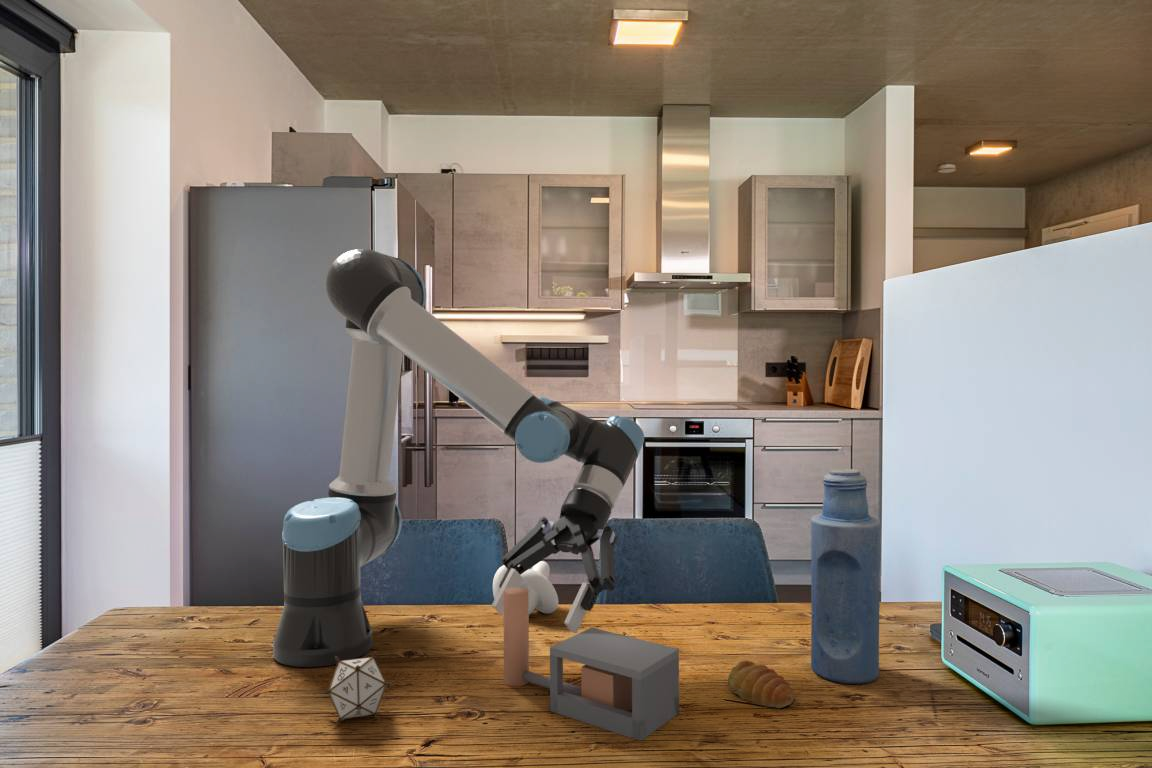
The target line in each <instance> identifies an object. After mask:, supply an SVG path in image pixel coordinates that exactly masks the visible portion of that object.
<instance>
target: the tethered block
mask: <svg viewBox="0 0 1152 768" xmlns="http://www.w3.org/2000/svg"><path fill="white" fill-rule="evenodd" d="M503 611H504V615H503V683H504V685H507V686H510V687H521V686H522V687H523V686H525V685H527V684H529V683H531V684H534V685H536V686H540V687H543V688H546V689H549V690H550V676H546V675H543V674H540V673H536V672H533V671H529V670H530V650H529V649H530V648H529V647H530V643H529V641H530V634H529V633H530V631H529V630H530V622H529V621H530V620H529V619H530V618H529V617H530V615H529V596H528V590H527V589H523V588H511V589H507V590H504V592H503ZM580 670H581V685H580V686H579V685H576V684H572V683H570V682H566V681H563V692H567V693H570V694H573V695H576V696H579V697H583V698H586V699H589V700H592V701H595V702H599V703H602V704H605V705H608V706H611V707H615V708H618V709H621V710H624V711H627V712H629V711H630V710H631V711H632V678H631V677H628V676H624V675H621V674H617V673H613V672H610V671H606V670H603V669H599V668H596V667H592V666H589V665H585V664H583V666H581V669H580ZM631 711H630V712H631Z"/></svg>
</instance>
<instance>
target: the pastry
mask: <svg viewBox="0 0 1152 768" xmlns="http://www.w3.org/2000/svg"><path fill="white" fill-rule="evenodd" d="M726 681H727V682H726V683H727V685H728V686H729V688H730V690H731V691H732V694H735V695H738V696H739V698H741V699H743V700H745V701H750V702H751V703H753V704H758V705H760V706H762V707H766V708H767V707H768V708H777V709H781V708H785V707H786V706H790V705H791V704H793V702H794V699H795V696H796V694H795V690H793V688H792V687H791V684H790V683H789V682H788V681H786V680H785V678H784V676H782V675H779V674H778V673H777V672H776V670H775V669H773V668H769V667H768V666H767V665H765V664H760V663H759V664H756V663H755V662H754V661H750V660H747V659H746V660H742V661H739V662H738V663H737V664H736V665H735V666H733V667H732V669H731V670H730V673H729V674H728V677H727V680H726Z"/></svg>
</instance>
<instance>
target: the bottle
mask: <svg viewBox="0 0 1152 768" xmlns="http://www.w3.org/2000/svg"><path fill="white" fill-rule="evenodd" d="M822 481H823V491H824V492H823V501H822V510H821V511H822V512H820V513H818V514H815V515H813V516H811V519H810V521H811V523H810V528H811V529H810V531H811V533H810V534H811V535H810V562H811V563H810V566H811V567H810V568H811V569H810V570H811V571H810V578H811V582H810V583H811V586H810V587H811V590H810V591H811V592H810V593H811V597H810V598H811V600H810V601H811V603H810V604H811V609H810V610H811V612H810V614H811V615H810V616H811V620H810V621H811V622H810V623H811V633H810V634H811V635H810V640H811V641H810V642H811V644H810V647H811V648H810V658H811V659H810V667H811V668H810V669H812V671H813V673H815V674H816V675H817V676H819V677H821V678H823V679H825V680H828V681H830V682H835V683H839V684H845V685H851V684H853V685H863V684H868V683H871V682H874V681H875V680H877V678H879V675H880V608H881V604H880V603H881V602H880V596H881V595H880V594H881V592H880V591H881V590H880V586H881V585H880V584H881V581H880V580H881V578H880V576H881V521H880V520H879V519H878V518H876V517H874V516H871V515H870V514H869V504H868V503H869V502H868V500H867V499H868V498H867V487H868V481H867V478H866V476H864V475H862V474H861V472H860V470H859V469H854V468H852V469H851V468H836V469H830V470H829V473H828V474H825V475H824V477H823V480H822Z"/></svg>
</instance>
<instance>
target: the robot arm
mask: <svg viewBox="0 0 1152 768" xmlns="http://www.w3.org/2000/svg"><path fill="white" fill-rule="evenodd" d="M325 285H326V287H325V288H326V293H327V297H328V298H329V300H330V303H331V305H332V306H333V308H334V309H336V311H338V313H340V314H341V315H342V316H343V317H345V318H346V319H345V331H346V332H347V334H348V335H349V336H350V337H351V339H352V350H351V358H350V368H349V379H348V387H347V388H348V389H347V397H346V398H347V399H346V406H345V407H346V408H345V415H344V427H343V436H342V445H341V455H340V463H339V464H340V466H339V475H338V477H336V478H335V479H333V481H332V482H331V483H329V485H328V493H327V497H322V498H316V499H313V500H307V501H303V502H300V503H298V504H295V505H294V506H293V507H291V508H290V509H288V510H287V512H286V513H285V514H284V518H283V525H282V532H281V533H282V534H281V539H282V556H283V557H282V558H283V562H282V563H283V565H282V566H283V592H284V594H283V598H284V599H283V600H284V601H283V602H284V603H283V604H284V605H283V609H282V612H281V616H280V619H279V621H278V625H277V628H276V632H275V635H274V637H273V641H272V654H273V655H272V656H273V660H275V661H276V662H277V663H279V664H283V665H286V666H290V667H296V668H297V667H298V668H317V667H328V666H333V665H337V663H338V662H337V661H336V660H335V656H337V657H338V658H339V660H340V661H341V660H349V659H357V658H361V657H362V656H364V655H365V654H367V653H368V652H369V651H370V650H371V649H372V647H373V630H372V627H371V624H370V621H369V618H368V616H367V613H366V611H365V606H364V605H363V602H362V598H361V595H362V594H361V568H362V567H363V566H365V565H366V564H368V563H370V562H371V561H374V560H377V559H379V558H380V557H382V556H383V555H384V554H386V552H388V551H389V550H390V549H391V547H392V546H393V545H394V544H395V543H396V541H397V540H398V537H400V533H401V531H402V530H401V529H402V524H403V521H402V512H401V510H400V508H399V506H398V505H397V503H396V502H397V500H396V499H397V490H398V489H397V487H396V486H395V485H394V484H393V482H391V479H390V475H391V467H392V466H391V465H392V457H393V456H392V455H393V448H394V447H393V446H394V437H395V427H396V420H397V409H398V401H399V400H398V399H399V391H400V382H401V372H402V364H403V363H402V362H403V355H404V356H406V357H407V358H408V359H410V360H411V361H412V362H413V363H414V364H416V365H417V366H418V367H420V369H422V370H423V371H425V372H426V373H427V374H429V376H431V377H432V378H434V380H436V381H437V382H438V383H440V384H441V385H442V386H444V387H445V388H446V389H447V390H448V391H450V392H451V393H453V395H455V396H456V397H457V398H459V399H460V400H461V401H463V402H464V403H465V404H466V405H468V406H469V407H470V408H472V409H473V411H475V412H476V413H478V414H480V416H482V417H483V418H484V419H485V420H487V422H489V423H490V424H492V425H493V426H494V427H496V428H497V429H498V430H499V431H501V432H502V433H503V434H505V436H507V437H508V438H509V439H510V440H511V441H512V442H514V443H515V444H516V448H517V450H518V451H519V453H520V454H521V456H523V458H525V459H526V460H528V461H530V462H533V463H536V464H537V463H538V464H543V463H549V462H553V461H556V460H558V459H559V458H560V457H561V456H566V457H568V458H571V459H573V460H575V461H577V462H578V463H581V464H583V465H582V466H581V469H580V470H579V472H578V473H577V476H576V477H575V480H574V482H573V484H572V485H571V488H570V491H568V492H567V493H568V494H567V496H566V497H565V500H564V501H563V503H562V505H561V507H560V514H559V517H558V518H557V519H556V520H555V521H551V520H548V519H547V517H546V516H541V517H540V518H539V519H538V521H537V523H536V524H535V526H534V527H533V528H532V529H531V530H530V531H528V533H526V535H525V536H524V537H522V538H521V539H520V540H519V541H518V542H517V543H516V544H515V545H514V546H513V547H512V548H511V549H509V550H508V551H507V552H506V553H505V554H504V555H503V556H502V557H501V558H500V562H501V563H502V565H504V566H505V567H506V568H507V571H506V573H505V575H504V577H503V579H502V581H501V583H500V585H499V587H500V588H501V589H500V590H499V592H498V594H497V596H496V598H495V599H494V600H493V602H492V604H491V607H492V608H493V609H494V610H495V611H496V612H497V613H498V614H499V615H501V616H504V611H503V592H504V590H507V589H511V588H518V587H519V585H520V584H521V582H522V580H523V578H522V577H521V574H522V573H524V572H525V571H527V570H528V569H532V567H533V566H534V565H536V564H537V563H539V562H540V561H544V560H545V559H546V558H548V557H549V556H551V555H552V554H553V555H556V554H558V553H560V552H562V553H571V554H573V555H579V554H580V557H581V559H582V563H583V567H584V570H585V573H586V577H587V579H586V580H587V582H582V583H581V586H580V587H579V590H578V592H577V594H576V596H575V599H574V600H573V602H572V605H571V607H570V609H569V612H568V613H567V615H566V617H565V620H564V622H563V623H564V625H565V626H566V627H567V628H568V629H569V630H570V632H572V633H573V634H578V631H579V629H580V627H581V625H582V622H583V620H584V618H585V616H586V614H587V612H590V611H592V610H593V608H594V605H595V603H596V602H597V599H598V597H599V596H600V595H599V594H600V593H602V592H603V591H606V590H607V591H609V592H612V591H615V588H616V578H615V577H616V575H615V574H616V573H615V572H616V571H615V570H616V569H615V566H616V565H615V546H616V543H617V539H618V535H617V534H616V533H615V530H613V528H612V527H611V526H610V525H607V523H608V521H609V518H610V517H611V514H612V510H613V509H614V508H615V506H616V503H617V501H618V499H619V497H620V495H621V493H622V491H623V488H624V486H625V484H626V483H627V481H628V478H629V477H630V474H631V473H632V470H633V468H634V465H635V464H636V462H637V459H638V457H639V455H640V452H641V450H642V448H643V444H644V443H645V434H644V431H643V429H642V427H641V426H640V425H639V424H638V423H637V422H636V421H634V420H633V419H631V418H629V417H627V416H619V415H612V416H609V417H608V418H607V419H606V420H605V421H604V422H601V421H598V420H596V419H593V418H592V417H588V416H586V415H584V414H582V413H580V412H578V411H576V410H574V409H572V408H570V407H568V406H566V405H564V404H562V403H561V402H559V401H558V400H557V401H556V400H552V399H550V398H547V397H544V396H541V397H537V396H536V395H535V394H533V393H532V392H531V391H530V390H529V389H527V388H526V387H525V386H523V385H522V384H521V383H519V382H518V381H517V380H516V379H514V378H513V377H512V376H511V375H510V374H508V373H507V372H506V371H504V370H503V369H502V368H500V367H499V365H497V364H495V362H493V361H492V360H491V359H489V358H488V357H486V356H485V355H484V354H482V353H481V352H480V351H479V350H478V349H476V348H475V347H474V346H473V345H471V344H470V343H468V342H467V340H465V339H464V338H463V337H461V336H460V335H458V334H457V333H456V332H455V331H453V330H452V329H451V328H449V327H448V326H447V325H445V324H444V323H443V322H442V321H441V320H439V319H438V318H437V317H436V316H434V315H433V314H432V313H431V312H429V311H428V310H426V309H425V308H424V307H425V306H426V302H427V301H426V300H427V289H426V284H425V282H424V279H423V277H422V276H421V274H420V272H418V270H417V269H416V267H413V266H412V265H411V264H409V263H408V262H407V261H405V260H404V259H401V258H399V257H396V256H391V255H388V254H384V253H382V252H378V251H375V250H372V249H368V248H356V249H352V250H348V251H346V252H345V253H342V254H341V255H340V256H338V257H337V258H336V259H335V260H334V261H333V262H332V264H331V265H330V267H329V269H328V271H327V275H326V281H325ZM552 541H554V544H553V542H552ZM597 541H600V542H599V548H600V549H599V550H600V551H599V553H600V559H599V560H600V572H599V570H598V566H597V563H596V560H595V553H594V552H593V547H592V545H593V544H595V543H596V542H597ZM518 565H520V566H519V567H518Z"/></svg>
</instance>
